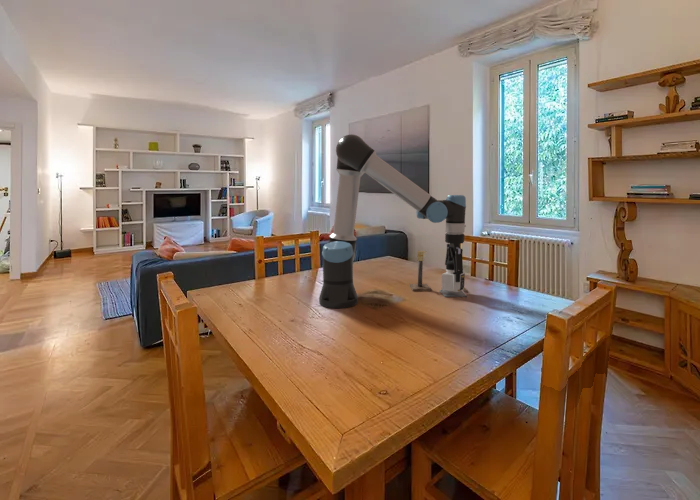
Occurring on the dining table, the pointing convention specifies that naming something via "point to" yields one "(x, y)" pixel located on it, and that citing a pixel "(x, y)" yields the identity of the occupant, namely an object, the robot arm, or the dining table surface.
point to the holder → (421, 286)
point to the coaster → (453, 294)
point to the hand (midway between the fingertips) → (452, 286)
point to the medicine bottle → (451, 278)
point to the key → (421, 255)
